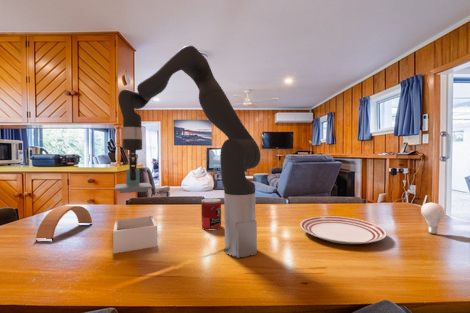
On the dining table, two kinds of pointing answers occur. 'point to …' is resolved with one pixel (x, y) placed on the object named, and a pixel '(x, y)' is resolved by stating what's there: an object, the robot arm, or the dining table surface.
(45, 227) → the arch
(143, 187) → the lid
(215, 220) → the canned food
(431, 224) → the lightbulb
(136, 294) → the dining table surface
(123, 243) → the tub
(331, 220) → the dinner plate
